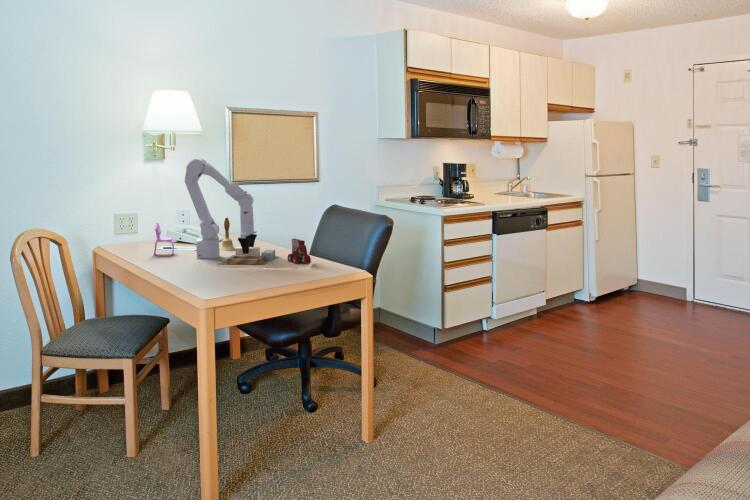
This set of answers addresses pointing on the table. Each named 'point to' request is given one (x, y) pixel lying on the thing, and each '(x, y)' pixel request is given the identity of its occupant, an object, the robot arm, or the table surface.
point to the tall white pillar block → (248, 252)
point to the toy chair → (161, 238)
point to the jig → (244, 260)
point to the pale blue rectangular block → (268, 254)
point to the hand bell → (227, 238)
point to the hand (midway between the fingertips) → (248, 252)
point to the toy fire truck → (299, 252)
